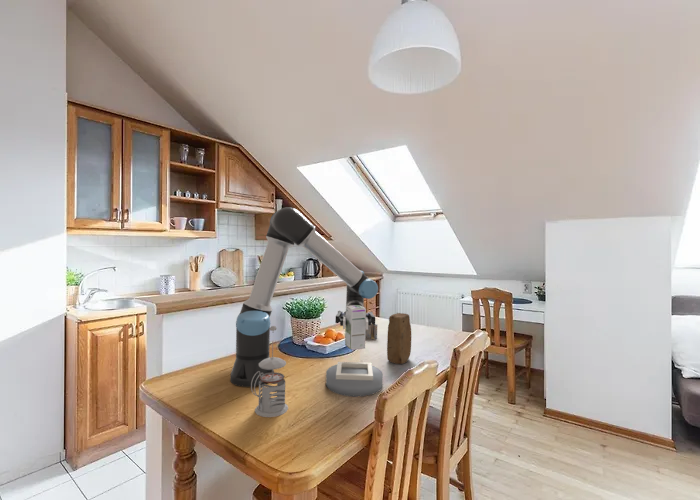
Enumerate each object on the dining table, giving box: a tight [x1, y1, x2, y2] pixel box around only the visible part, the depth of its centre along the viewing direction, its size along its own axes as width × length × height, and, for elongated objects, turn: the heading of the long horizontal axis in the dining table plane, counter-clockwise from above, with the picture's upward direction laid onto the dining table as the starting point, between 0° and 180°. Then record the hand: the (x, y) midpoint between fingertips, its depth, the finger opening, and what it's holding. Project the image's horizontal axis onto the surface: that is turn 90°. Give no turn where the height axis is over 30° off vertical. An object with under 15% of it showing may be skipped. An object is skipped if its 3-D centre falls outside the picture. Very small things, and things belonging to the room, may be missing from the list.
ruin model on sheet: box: [365, 323, 378, 340], centre depth 181 cm, size 11×3×10 cm, turn 59°
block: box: [386, 312, 412, 365], centre depth 147 cm, size 11×8×20 cm
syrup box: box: [344, 305, 367, 351], centre depth 122 cm, size 6×6×14 cm
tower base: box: [325, 361, 384, 397], centre depth 123 cm, size 20×20×6 cm
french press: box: [250, 325, 289, 418], centre depth 102 cm, size 10×12×25 cm
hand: (355, 325), depth 117 cm, fingers closed on syrup box, 7 cm apart
